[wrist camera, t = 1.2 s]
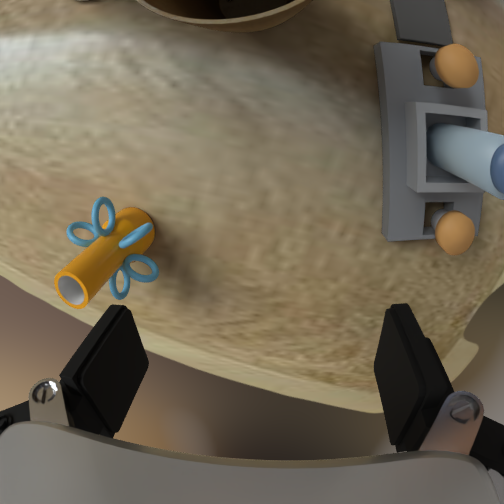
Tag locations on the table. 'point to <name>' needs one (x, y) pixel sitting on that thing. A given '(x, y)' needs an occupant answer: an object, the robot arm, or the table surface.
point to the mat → (422, 21)
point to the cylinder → (107, 254)
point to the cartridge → (468, 155)
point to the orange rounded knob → (453, 231)
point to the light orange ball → (455, 66)
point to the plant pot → (228, 13)
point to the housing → (421, 141)
